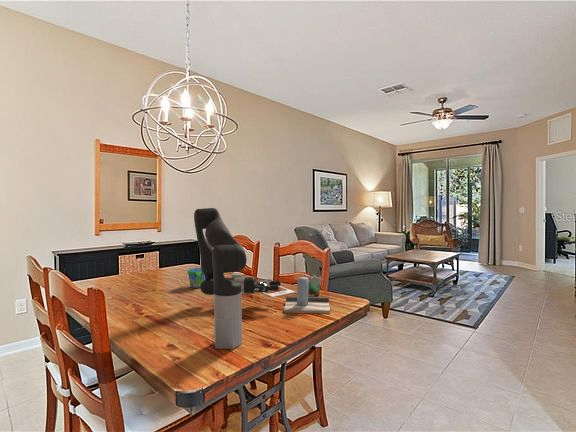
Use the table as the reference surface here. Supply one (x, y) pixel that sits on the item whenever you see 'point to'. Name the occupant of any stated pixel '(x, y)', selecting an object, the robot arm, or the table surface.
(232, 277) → the air freshener
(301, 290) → the roller
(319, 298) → the board
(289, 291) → the photo frame
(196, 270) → the snack cup
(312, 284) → the food container
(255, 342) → the table surface
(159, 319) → the table surface
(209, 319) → the table surface
